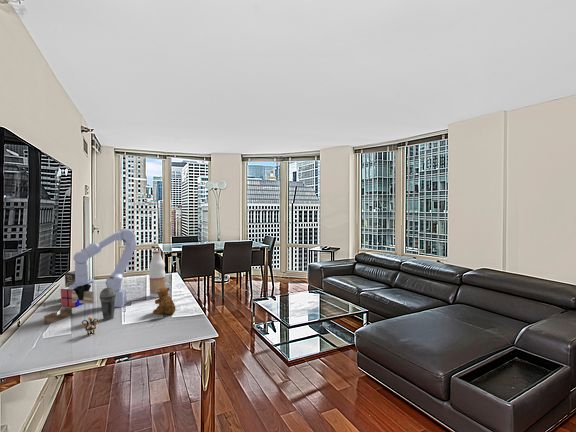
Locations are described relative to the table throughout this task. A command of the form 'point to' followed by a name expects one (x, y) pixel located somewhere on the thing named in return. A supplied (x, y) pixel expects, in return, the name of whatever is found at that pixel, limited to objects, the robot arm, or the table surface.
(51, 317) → the notched walnut block
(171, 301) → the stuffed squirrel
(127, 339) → the table surface
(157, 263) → the fruit juice
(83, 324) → the figurine
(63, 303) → the puzzle cube
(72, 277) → the coffee box
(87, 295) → the beige wooden plank
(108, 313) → the beverage cup
